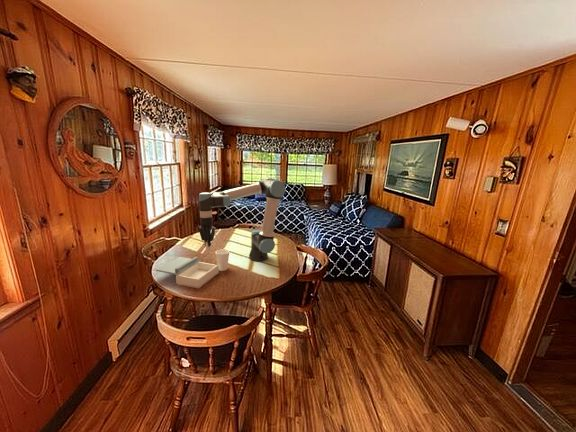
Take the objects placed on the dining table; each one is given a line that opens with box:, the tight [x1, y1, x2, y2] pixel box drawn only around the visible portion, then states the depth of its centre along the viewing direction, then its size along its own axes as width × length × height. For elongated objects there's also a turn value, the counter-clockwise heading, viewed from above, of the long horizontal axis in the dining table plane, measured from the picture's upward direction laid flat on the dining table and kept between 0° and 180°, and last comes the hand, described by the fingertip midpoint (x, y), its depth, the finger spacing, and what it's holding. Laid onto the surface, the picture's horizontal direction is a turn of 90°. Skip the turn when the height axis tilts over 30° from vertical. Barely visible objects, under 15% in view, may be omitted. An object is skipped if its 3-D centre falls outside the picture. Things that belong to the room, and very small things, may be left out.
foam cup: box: [214, 248, 230, 272], centre depth 170 cm, size 10×9×13 cm
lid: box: [155, 256, 200, 276], centre depth 159 cm, size 16×22×4 cm
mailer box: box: [175, 261, 220, 289], centre depth 156 cm, size 16×22×6 cm
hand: (208, 250), depth 161 cm, fingers closed
